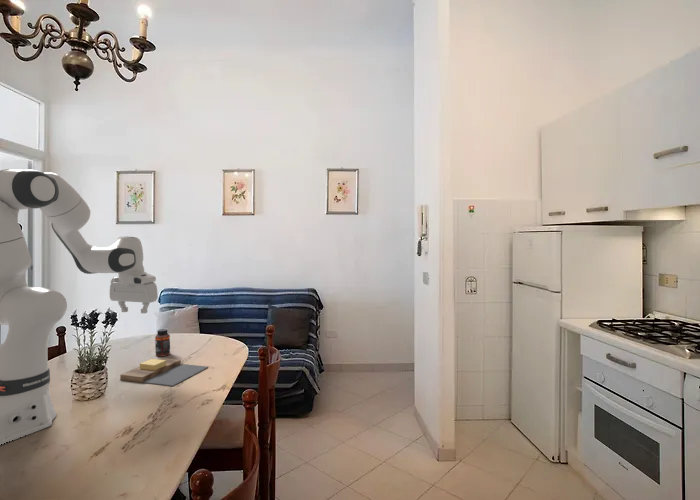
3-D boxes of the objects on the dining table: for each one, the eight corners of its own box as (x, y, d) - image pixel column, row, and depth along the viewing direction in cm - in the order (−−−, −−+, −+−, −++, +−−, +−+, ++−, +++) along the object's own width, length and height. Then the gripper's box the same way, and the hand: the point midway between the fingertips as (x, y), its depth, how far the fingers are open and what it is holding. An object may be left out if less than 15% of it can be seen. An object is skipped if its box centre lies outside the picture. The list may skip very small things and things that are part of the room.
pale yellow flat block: (154, 370, 144) (154, 365, 144) (139, 368, 146) (139, 363, 146) (166, 365, 150) (166, 360, 150) (151, 363, 152) (151, 358, 152)
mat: (172, 386, 134) (172, 385, 134) (142, 382, 137) (142, 381, 137) (208, 367, 153) (208, 366, 153) (181, 364, 156) (181, 363, 156)
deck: (142, 382, 137) (142, 377, 137) (120, 379, 140) (120, 374, 140) (180, 364, 156) (180, 359, 156) (160, 362, 159) (160, 357, 159)
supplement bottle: (173, 353, 172) (172, 328, 172) (165, 357, 166) (164, 331, 166) (160, 352, 173) (160, 328, 172) (152, 356, 167) (152, 331, 166)
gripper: (103, 278, 147) (106, 313, 148) (146, 279, 141) (149, 315, 143) (117, 275, 153) (120, 309, 154) (159, 277, 147) (161, 311, 149)
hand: (134, 312), depth 148 cm, fingers open, 8 cm apart
